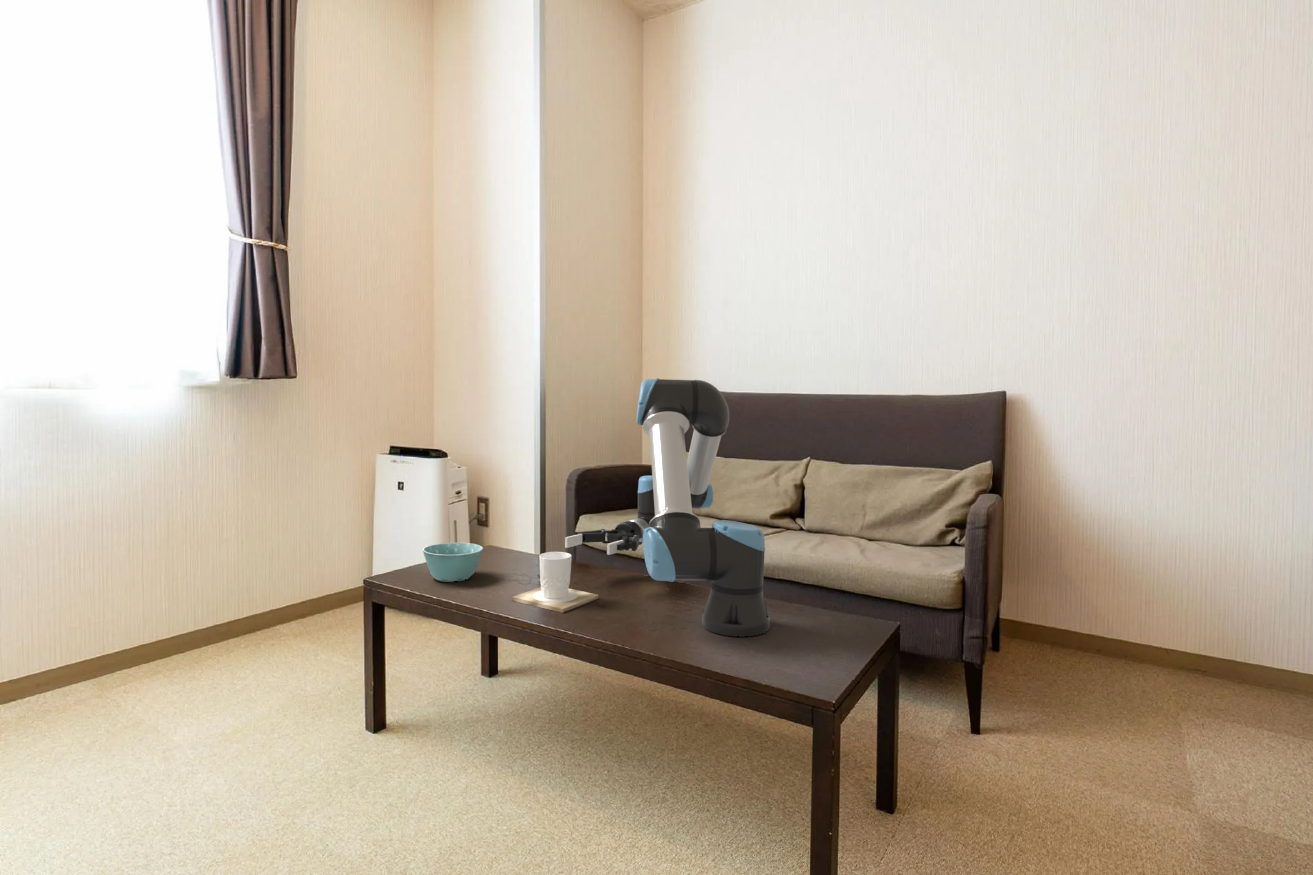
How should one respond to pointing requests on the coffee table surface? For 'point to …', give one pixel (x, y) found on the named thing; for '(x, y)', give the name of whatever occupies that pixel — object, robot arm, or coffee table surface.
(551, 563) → the white cup
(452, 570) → the bowl
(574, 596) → the coaster board
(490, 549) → the coffee table surface
